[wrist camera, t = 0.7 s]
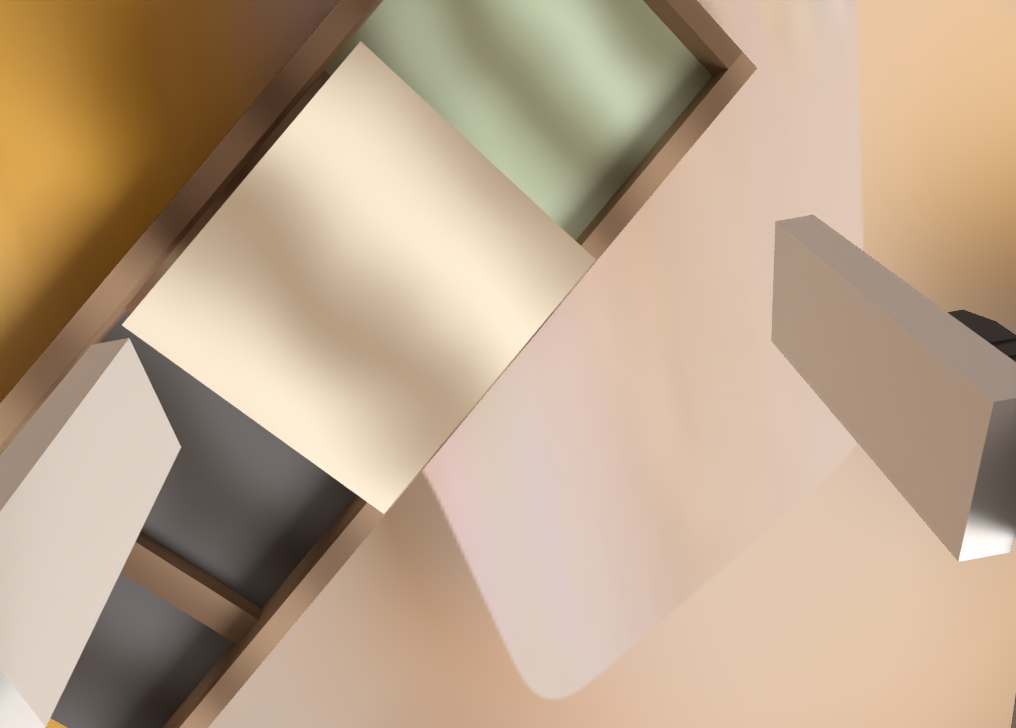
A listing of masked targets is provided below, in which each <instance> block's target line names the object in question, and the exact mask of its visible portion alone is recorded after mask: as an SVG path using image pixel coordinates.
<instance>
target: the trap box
mask: <svg viewBox="0 0 1016 728" xmlns="http://www.w3.org/2000/svg"><path fill="white" fill-rule="evenodd" d="M360 41H361V42H362V43H363V44H364V45H365V46H366V47H368V48H369V49H370V50H371V51H372V52H373V53H374V54H375V55H376V56H377V57H378V58H379V59H380V60H382V61H383V62H384V63H385V64H386V65H387V66H388V67H389V68H390V69H391V70H392V71H393V72H394V73H396V74H397V75H398V76H399V77H400V78H401V79H402V80H403V81H404V82H405V83H406V84H407V85H408V86H410V87H411V88H412V89H413V90H414V91H415V92H416V93H417V94H418V95H419V96H420V97H421V98H422V99H423V100H425V101H426V102H427V103H428V104H429V105H430V106H431V107H432V108H433V109H434V110H435V111H436V112H437V113H439V114H440V115H441V116H442V117H443V118H444V119H445V120H446V121H447V122H448V123H449V124H450V125H451V126H453V127H454V128H455V129H456V130H457V131H458V132H459V133H460V134H461V135H462V136H463V137H464V138H465V139H467V140H468V141H469V142H470V143H471V144H472V145H473V146H474V147H475V148H476V149H477V150H478V151H479V152H480V153H482V154H483V155H484V156H485V157H486V158H487V159H488V160H489V161H490V162H491V163H492V164H493V165H494V166H496V167H497V168H498V169H499V170H500V171H501V172H502V173H503V174H504V175H505V176H506V177H507V178H508V179H510V180H511V181H512V182H513V183H514V184H515V185H516V186H517V187H518V188H519V189H520V190H521V191H522V192H524V193H525V194H526V195H527V196H528V197H529V198H530V199H531V200H532V201H533V202H534V203H535V204H536V205H538V206H539V207H540V208H541V209H542V210H543V211H544V212H545V213H546V214H547V215H548V216H549V217H550V218H551V219H553V220H554V221H555V222H556V223H557V224H558V225H559V226H560V227H561V228H562V229H563V230H564V231H565V232H567V233H568V234H569V235H570V236H571V237H572V238H573V239H574V240H575V241H576V242H577V243H578V244H579V245H581V246H582V247H583V248H584V249H585V250H586V251H587V252H588V253H589V254H590V255H591V256H592V257H593V258H595V259H596V260H595V261H594V263H595V262H596V261H597V260H598V259H599V257H600V256H601V255H602V254H603V253H604V251H605V250H606V249H607V248H608V247H609V245H610V244H611V243H612V242H613V241H614V239H615V238H616V237H617V236H618V235H619V233H620V232H621V231H622V230H623V229H624V227H625V226H626V225H627V224H628V223H629V221H630V220H631V219H632V218H633V217H634V215H635V214H636V213H637V212H638V211H639V209H640V208H641V207H642V206H643V205H644V203H645V202H646V201H647V200H648V199H649V197H650V196H651V195H652V194H653V193H654V191H655V190H656V189H657V188H658V187H659V185H660V184H661V183H662V182H663V181H664V179H665V178H666V177H667V176H668V175H669V173H670V172H671V171H672V170H673V169H674V167H675V166H676V165H677V164H678V163H679V161H680V160H681V159H682V158H683V157H684V155H685V154H686V153H687V152H688V151H689V149H690V148H691V147H692V146H693V145H694V143H695V142H696V141H697V140H698V139H699V137H700V136H701V135H702V134H703V133H704V131H705V130H706V129H707V128H708V127H709V125H710V124H711V123H712V122H713V121H714V119H715V118H716V117H717V116H718V115H719V113H720V112H721V111H722V110H723V109H724V107H725V106H726V105H727V104H728V103H729V101H730V100H731V99H732V98H733V97H734V95H735V94H736V93H737V92H738V91H739V89H740V88H741V87H742V86H743V85H744V83H745V82H746V81H747V80H748V79H749V77H750V76H751V75H752V74H753V73H754V71H755V70H756V69H757V67H756V66H755V65H754V64H753V63H752V62H751V61H750V60H749V59H748V57H747V56H746V55H745V54H744V53H743V52H742V51H741V50H740V48H739V47H738V46H737V45H736V44H735V43H734V42H733V41H732V39H731V38H730V37H729V36H728V35H727V34H726V33H725V32H724V30H723V29H722V28H721V27H720V26H719V25H718V24H717V23H716V22H715V20H714V19H713V18H712V17H711V16H710V15H709V14H708V13H707V11H706V10H705V9H704V8H703V7H702V6H701V5H700V4H699V2H698V1H697V0H340V1H339V2H338V3H337V4H336V5H335V7H334V8H333V9H332V10H331V11H330V13H329V14H328V15H327V16H326V17H325V19H324V20H323V21H322V22H321V23H320V24H319V26H318V27H317V28H316V29H315V30H314V32H313V33H312V34H311V35H310V36H309V38H308V39H307V40H306V41H305V42H304V43H303V45H302V46H301V47H300V48H299V49H298V51H297V52H296V53H295V54H294V55H293V57H292V58H291V59H290V60H289V61H288V62H287V64H286V65H285V66H284V67H283V68H282V70H281V71H280V72H279V73H278V74H277V76H276V77H275V78H274V79H273V80H272V81H271V83H270V84H269V85H268V86H267V87H266V89H265V90H264V91H263V92H262V93H261V94H260V96H259V97H258V98H257V99H256V100H255V102H254V103H253V104H252V105H251V106H250V108H249V109H248V110H247V111H246V112H245V113H244V115H243V116H242V117H241V118H240V119H239V121H238V122H237V123H236V124H235V125H234V127H233V128H232V129H231V130H230V131H229V132H228V134H227V135H226V136H225V137H224V138H223V140H222V141H221V142H220V143H219V144H218V146H217V147H216V148H215V149H214V150H213V151H212V153H211V154H210V155H209V156H208V157H207V159H206V160H205V161H204V162H203V163H202V165H201V166H200V167H199V168H198V169H197V170H196V172H195V173H194V174H193V175H192V176H191V178H190V179H189V180H188V181H187V182H186V184H185V185H184V186H183V187H182V188H181V189H180V191H179V192H178V193H177V194H176V195H175V197H174V198H173V199H172V200H171V201H170V203H169V204H168V205H167V206H166V207H165V208H164V210H163V211H162V212H161V213H160V214H159V216H158V217H157V218H156V219H155V220H154V221H153V223H152V224H151V225H150V226H149V227H148V229H147V230H146V231H145V232H144V233H143V235H142V236H141V237H140V238H139V239H138V240H137V242H136V243H135V244H134V245H133V246H132V248H131V249H130V250H129V251H128V252H127V254H126V255H125V256H124V257H123V258H122V259H121V261H120V262H119V263H118V264H117V265H116V267H115V268H114V269H113V270H112V271H111V273H110V274H109V275H108V276H107V277H106V278H105V280H104V281H103V282H102V283H101V284H100V286H99V287H98V288H97V289H96V290H95V292H94V293H93V294H92V295H91V296H90V297H89V299H88V300H87V301H86V302H85V303H84V305H83V306H82V307H81V308H80V309H79V311H78V312H77V313H76V314H75V315H74V316H73V318H72V319H71V320H70V321H69V322H68V324H67V325H66V326H65V327H64V328H63V330H62V331H61V332H60V333H59V334H58V335H57V337H56V338H55V339H54V340H53V341H52V343H51V344H50V345H49V346H48V347H47V348H46V350H45V351H44V352H43V353H42V354H41V356H40V357H39V358H38V359H37V360H36V362H35V363H34V364H33V365H32V366H31V367H30V369H29V370H28V371H27V372H26V373H25V375H24V376H23V377H22V378H21V379H20V381H19V382H18V383H17V384H16V385H15V386H14V388H13V389H12V390H11V391H10V392H9V394H8V395H7V396H6V397H5V398H4V400H3V401H2V402H1V403H0V455H1V454H2V453H3V452H4V450H5V449H6V448H7V447H8V445H9V444H10V443H11V442H12V441H13V439H14V438H15V437H16V436H17V435H18V433H19V432H20V431H21V430H22V428H23V427H24V426H25V425H26V424H27V422H28V421H29V420H30V419H31V418H32V416H33V415H34V414H35V413H36V411H37V410H38V409H39V408H40V407H41V405H42V404H43V403H44V402H45V401H46V399H47V398H48V397H49V396H50V394H51V393H52V392H53V391H54V390H55V388H56V387H57V386H58V385H59V384H60V382H61V381H62V380H63V379H64V377H65V376H66V375H67V374H68V373H69V371H70V370H71V369H72V368H73V367H74V365H75V364H76V363H77V362H78V360H79V359H80V358H81V357H82V356H83V354H84V353H85V352H86V351H87V350H88V348H89V347H90V346H91V345H93V344H98V343H104V342H109V341H115V340H121V339H126V338H130V341H131V343H132V345H133V347H134V349H135V351H136V353H137V355H138V357H139V360H140V362H141V364H142V366H143V368H144V370H145V372H146V374H147V376H148V378H149V381H150V383H151V385H152V387H153V389H154V391H155V393H156V395H157V397H158V399H159V402H160V404H161V406H162V408H163V410H164V412H165V414H166V416H167V418H168V421H169V423H170V425H171V427H172V429H173V431H174V433H175V435H176V437H177V439H178V442H179V444H180V446H181V449H180V451H179V453H178V455H177V457H176V459H175V461H174V463H173V465H172V467H171V469H170V471H169V473H168V475H167V477H166V480H165V482H164V484H163V486H162V488H161V490H160V492H159V494H158V496H157V498H156V500H155V502H154V504H153V506H152V509H151V511H150V513H149V515H148V517H147V519H146V521H145V523H144V525H143V527H142V529H141V531H140V533H139V535H138V537H137V540H136V542H135V544H134V546H133V548H132V550H131V552H130V554H129V556H128V558H127V560H126V562H125V564H124V566H123V569H122V571H121V573H120V575H119V577H118V579H117V581H116V583H115V585H114V587H113V589H112V591H111V593H110V595H109V598H108V600H107V602H106V604H105V606H104V608H103V610H102V612H101V614H100V616H99V618H98V620H97V622H96V624H95V626H94V629H93V631H92V633H91V635H90V637H89V639H88V641H87V643H86V645H85V647H84V649H83V651H82V653H81V655H80V658H79V660H78V662H77V664H76V666H75V668H74V670H73V672H72V674H71V676H70V678H69V680H68V682H67V684H66V686H65V689H64V691H63V693H62V695H61V697H60V699H59V701H58V703H57V705H56V707H55V709H54V711H53V713H52V715H51V719H53V720H55V721H57V722H59V723H61V724H63V725H64V726H66V727H68V728H208V727H209V726H210V724H211V723H212V722H213V721H214V720H215V718H216V717H217V716H218V715H219V714H220V712H221V711H222V710H223V709H224V708H225V706H226V705H227V704H228V703H229V702H230V700H231V699H232V698H233V697H234V696H235V694H236V693H237V692H238V691H239V690H240V688H241V687H242V686H243V685H244V684H245V682H246V681H247V680H248V679H249V678H250V676H251V675H252V674H253V673H254V672H255V670H256V669H257V668H258V667H259V665H260V664H261V663H262V662H263V660H265V658H266V657H267V656H268V655H269V654H270V652H271V651H272V650H273V649H274V647H275V646H276V645H277V644H278V643H279V642H280V640H281V639H282V638H283V637H284V636H285V634H286V633H287V632H288V631H289V629H290V628H291V627H292V626H293V625H294V623H295V622H296V621H297V620H298V619H299V618H300V616H301V615H302V614H303V613H304V612H305V610H306V609H307V608H308V607H309V605H310V604H311V603H312V602H313V601H314V600H315V598H316V597H317V596H318V595H319V594H320V592H321V591H322V590H323V589H324V588H325V586H326V585H327V584H328V583H329V581H330V580H331V579H332V578H333V577H334V575H335V574H336V573H337V572H338V571H339V570H340V568H341V567H342V566H343V565H344V564H345V562H346V561H347V560H348V559H349V558H350V556H351V555H352V554H353V553H354V552H355V550H356V549H357V548H358V547H359V546H360V544H361V543H362V542H363V541H364V540H365V538H366V537H367V536H368V535H369V533H370V532H371V531H372V530H373V529H374V528H375V526H376V525H377V524H378V523H379V522H380V520H381V519H382V518H383V517H384V516H385V514H386V513H387V512H388V511H389V510H390V508H391V507H392V506H393V505H394V503H395V502H396V501H397V500H398V499H399V497H400V496H401V495H402V494H403V493H404V491H405V490H406V489H407V488H408V486H410V484H411V483H412V482H413V481H414V480H415V478H416V477H417V476H418V475H419V474H420V472H421V471H422V470H423V469H424V468H425V466H426V465H427V464H428V463H429V462H430V460H431V459H432V458H433V457H434V456H435V454H436V453H437V452H438V451H439V450H440V448H441V447H442V446H443V445H444V444H445V442H446V441H447V440H448V439H449V438H450V436H451V435H452V434H453V433H454V432H455V430H456V429H457V428H458V427H459V426H460V424H461V423H462V422H463V421H464V420H465V418H466V417H467V416H468V415H469V414H470V412H471V411H472V410H473V409H474V408H475V406H476V405H477V404H478V403H479V402H480V400H481V399H482V398H483V397H484V396H485V394H486V393H487V392H488V391H489V390H490V388H491V387H492V386H493V385H494V384H495V382H496V381H497V380H498V379H499V378H500V376H501V375H502V374H503V373H504V372H505V370H506V369H507V368H508V367H509V366H510V364H511V363H512V362H513V361H514V360H515V358H516V357H517V356H518V355H519V354H520V352H521V351H522V350H523V349H524V348H525V346H526V345H527V344H528V343H529V342H530V340H531V339H532V338H533V337H534V335H535V334H536V333H537V332H538V331H539V329H540V328H541V327H542V326H543V325H544V323H545V322H546V321H547V320H548V319H549V317H550V316H551V315H552V314H553V313H554V311H555V310H556V309H557V308H558V307H559V305H560V304H561V303H562V302H563V301H564V299H565V298H566V297H567V296H568V295H569V293H570V292H571V291H572V290H573V289H574V287H575V286H576V285H577V284H578V283H579V281H580V280H581V279H582V278H583V277H584V275H585V274H586V273H587V272H588V271H589V269H590V268H591V267H592V266H593V265H594V263H593V264H592V265H591V266H590V267H589V269H588V270H587V271H586V272H585V273H584V275H583V276H582V277H581V278H580V279H579V281H578V282H577V283H576V284H575V285H574V287H573V288H572V289H571V290H570V291H569V293H568V294H567V295H566V296H565V297H564V299H563V300H562V301H561V302H560V303H559V305H558V306H557V307H556V308H555V309H554V311H553V312H552V313H551V314H550V315H549V317H548V318H547V319H546V320H545V321H544V323H543V324H542V325H541V326H540V327H539V329H538V330H537V331H536V332H535V333H534V335H533V336H532V337H531V338H530V339H529V341H528V342H527V343H526V344H525V345H524V347H523V348H522V349H521V350H520V351H519V353H518V354H517V355H516V356H515V357H514V359H513V360H512V361H511V362H510V363H509V365H508V366H507V367H506V368H505V369H504V371H503V372H502V373H501V374H500V375H499V377H498V378H497V379H496V380H495V381H494V383H493V384H492V385H491V386H490V387H489V389H488V390H487V391H486V392H485V393H484V395H483V396H482V397H481V398H480V399H479V401H478V402H477V403H476V404H475V405H474V407H473V408H472V409H471V410H470V411H469V413H468V414H467V415H466V416H465V417H464V419H463V420H462V421H461V422H460V423H459V425H458V426H457V427H456V428H455V429H454V431H453V432H452V433H451V434H450V435H449V437H448V438H447V439H446V440H445V441H444V443H443V444H442V445H441V446H440V447H439V449H438V450H437V451H436V452H435V453H434V455H433V456H432V457H431V458H430V459H429V461H428V462H427V463H426V464H425V465H424V467H423V468H422V469H421V470H420V471H419V473H418V474H417V475H416V476H415V477H414V479H413V480H412V481H411V482H410V483H409V485H408V486H407V487H406V488H405V489H404V491H403V492H402V493H401V494H400V495H399V497H398V498H397V499H396V500H395V501H394V503H393V504H392V505H391V506H390V507H389V509H388V510H387V511H386V512H385V513H384V514H383V513H382V512H380V511H379V510H378V509H376V508H375V507H373V506H372V505H371V504H369V503H368V502H366V501H365V500H364V499H362V498H361V497H359V496H358V495H357V494H355V493H354V492H353V491H351V490H350V489H348V488H347V487H346V486H344V485H343V484H341V483H340V482H339V481H337V480H336V479H334V478H333V477H332V476H330V475H329V474H328V473H326V472H325V471H323V470H322V469H321V468H319V467H318V466H316V465H315V464H314V463H312V462H311V461H310V460H308V459H307V458H305V457H304V456H303V455H301V454H300V453H298V452H297V451H296V450H294V449H293V448H291V447H290V446H289V445H287V444H286V443H285V442H283V441H282V440H280V439H279V438H278V437H276V436H275V435H273V434H272V433H271V432H269V431H268V430H267V429H265V428H264V427H262V426H261V425H260V424H258V423H257V422H255V421H254V420H253V419H251V418H250V417H248V416H247V415H246V414H244V413H243V412H242V411H240V410H239V409H237V408H236V407H235V406H233V405H232V404H230V403H229V402H228V401H226V400H225V399H223V398H222V397H221V396H219V395H218V394H217V393H215V392H214V391H212V390H211V389H210V388H208V387H207V386H205V385H204V384H203V383H201V382H200V381H199V380H197V379H196V378H194V377H193V376H192V375H190V374H189V373H187V372H186V371H185V370H183V369H182V368H180V367H179V366H178V365H176V364H175V363H174V362H172V361H171V360H169V359H168V358H167V357H165V356H164V355H162V354H161V353H160V352H158V351H157V350H156V349H154V348H153V347H151V346H150V345H149V344H147V343H146V342H144V341H143V340H142V339H140V338H139V337H137V336H136V335H135V334H133V333H132V332H131V331H129V330H128V329H126V328H125V327H124V326H122V324H123V323H124V322H125V321H126V319H127V318H128V317H129V316H130V315H131V313H132V312H133V311H134V310H135V309H136V307H137V306H138V305H139V304H140V303H141V302H142V300H143V299H144V298H145V297H146V296H147V294H148V293H149V292H150V291H151V290H152V288H153V287H154V286H155V285H156V284H157V282H158V281H159V280H160V279H161V278H162V277H163V275H164V274H165V273H166V272H167V271H168V269H169V268H170V267H171V266H172V265H173V263H174V262H175V261H176V260H177V259H178V258H179V256H180V255H181V254H182V253H183V252H184V250H185V249H186V248H187V247H188V246H189V244H190V243H191V242H192V241H193V240H194V239H195V237H196V236H197V235H198V234H199V233H200V231H201V230H202V229H203V228H204V227H205V225H206V224H207V223H208V222H209V221H210V219H211V218H212V217H213V216H214V215H215V214H216V212H217V211H218V210H219V209H220V208H221V206H222V205H223V204H224V203H225V202H226V200H227V199H228V198H229V197H230V196H231V195H232V193H233V192H234V191H235V190H236V189H237V187H238V186H239V185H240V184H241V183H242V181H243V180H244V179H245V178H246V177H247V176H248V174H249V173H250V172H251V171H252V170H253V168H254V167H255V166H256V165H257V164H258V162H259V161H260V160H261V159H262V158H263V157H264V155H265V154H266V153H267V152H268V151H269V149H270V148H271V147H272V146H273V145H274V143H275V142H276V141H277V140H278V139H279V137H280V136H281V135H282V134H283V133H284V132H285V130H286V129H287V128H288V127H289V126H290V124H291V123H292V122H293V121H294V120H295V118H296V117H297V116H298V115H299V114H300V113H301V111H302V110H303V109H304V108H305V107H306V105H307V104H308V103H309V102H310V101H311V99H312V98H313V97H314V96H315V95H316V94H317V92H318V91H319V90H320V89H321V88H322V86H323V85H324V84H325V83H326V82H327V80H328V79H329V78H330V77H331V76H332V75H333V73H334V72H335V71H336V70H337V69H338V67H339V66H340V65H341V64H342V63H343V61H344V60H345V59H346V58H347V57H348V55H349V54H350V53H351V52H352V51H353V50H354V48H355V47H356V46H357V45H358V44H359V42H360Z"/></svg>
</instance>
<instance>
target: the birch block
mask: <svg viewBox="0 0 1016 728" xmlns="http://www.w3.org/2000/svg"><path fill="white" fill-rule="evenodd" d="M595 260H596V259H595V258H593V257H592V256H591V255H590V254H589V253H588V252H587V251H586V250H585V249H584V248H583V247H582V246H581V245H579V244H578V243H577V242H576V241H575V240H574V239H573V238H572V237H571V236H570V235H569V234H568V233H567V232H565V231H564V230H563V229H562V228H561V227H560V226H559V225H558V224H557V223H556V222H555V221H554V220H553V219H551V218H550V217H549V216H548V215H547V214H546V213H545V212H544V211H543V210H542V209H541V208H540V207H539V206H538V205H536V204H535V203H534V202H533V201H532V200H531V199H530V198H529V197H528V196H527V195H526V194H525V193H524V192H522V191H521V190H520V189H519V188H518V187H517V186H516V185H515V184H514V183H513V182H512V181H511V180H510V179H508V178H507V177H506V176H505V175H504V174H503V173H502V172H501V171H500V170H499V169H498V168H497V167H496V166H494V165H493V164H492V163H491V162H490V161H489V160H488V159H487V158H486V157H485V156H484V155H483V154H482V153H480V152H479V151H478V150H477V149H476V148H475V147H474V146H473V145H472V144H471V143H470V142H469V141H468V140H467V139H465V138H464V137H463V136H462V135H461V134H460V133H459V132H458V131H457V130H456V129H455V128H454V127H453V126H451V125H450V124H449V123H448V122H447V121H446V120H445V119H444V118H443V117H442V116H441V115H440V114H439V113H437V112H436V111H435V110H434V109H433V108H432V107H431V106H430V105H429V104H428V103H427V102H426V101H425V100H423V99H422V98H421V97H420V96H419V95H418V94H417V93H416V92H415V91H414V90H413V89H412V88H411V87H410V86H408V85H407V84H406V83H405V82H404V81H403V80H402V79H401V78H400V77H399V76H398V75H397V74H396V73H394V72H393V71H392V70H391V69H390V68H389V67H388V66H387V65H386V64H385V63H384V62H383V61H382V60H380V59H379V58H378V57H377V56H376V55H375V54H374V53H373V52H372V51H371V50H370V49H369V48H368V47H366V46H365V45H364V44H363V43H362V42H361V41H360V42H359V44H358V45H357V46H356V47H355V48H354V50H353V51H352V52H351V53H350V54H349V55H348V57H347V58H346V59H345V60H344V61H343V63H342V64H341V65H340V66H339V67H338V69H337V70H336V71H335V72H334V73H333V75H332V76H331V77H330V78H329V79H328V80H327V82H326V83H325V84H324V85H323V86H322V88H321V89H320V90H319V91H318V92H317V94H316V95H315V96H314V97H313V98H312V99H311V101H310V102H309V103H308V104H307V105H306V107H305V108H304V109H303V110H302V111H301V113H300V114H299V115H298V116H297V117H296V118H295V120H294V121H293V122H292V123H291V124H290V126H289V127H288V128H287V129H286V130H285V132H284V133H283V134H282V135H281V136H280V137H279V139H278V140H277V141H276V142H275V143H274V145H273V146H272V147H271V148H270V149H269V151H268V152H267V153H266V154H265V155H264V157H263V158H262V159H261V160H260V161H259V162H258V164H257V165H256V166H255V167H254V168H253V170H252V171H251V172H250V173H249V174H248V176H247V177H246V178H245V179H244V180H243V181H242V183H241V184H240V185H239V186H238V187H237V189H236V190H235V191H234V192H233V193H232V195H231V196H230V197H229V198H228V199H227V200H226V202H225V203H224V204H223V205H222V206H221V208H220V209H219V210H218V211H217V212H216V214H215V215H214V216H213V217H212V218H211V219H210V221H209V222H208V223H207V224H206V225H205V227H204V228H203V229H202V230H201V231H200V233H199V234H198V235H197V236H196V237H195V239H194V240H193V241H192V242H191V243H190V244H189V246H188V247H187V248H186V249H185V250H184V252H183V253H182V254H181V255H180V256H179V258H178V259H177V260H176V261H175V262H174V263H173V265H172V266H171V267H170V268H169V269H168V271H167V272H166V273H165V274H164V275H163V277H162V278H161V279H160V280H159V281H158V282H157V284H156V285H155V286H154V287H153V288H152V290H151V291H150V292H149V293H148V294H147V296H146V297H145V298H144V299H143V300H142V302H141V303H140V304H139V305H138V306H137V307H136V309H135V310H134V311H133V312H132V313H131V315H130V316H129V317H128V318H127V319H126V321H125V322H124V323H123V324H122V326H124V327H125V328H126V329H128V330H129V331H131V332H132V333H133V334H135V335H136V336H137V337H139V338H140V339H142V340H143V341H144V342H146V343H147V344H149V345H150V346H151V347H153V348H154V349H156V350H157V351H158V352H160V353H161V354H162V355H164V356H165V357H167V358H168V359H169V360H171V361H172V362H174V363H175V364H176V365H178V366H179V367H180V368H182V369H183V370H185V371H186V372H187V373H189V374H190V375H192V376H193V377H194V378H196V379H197V380H199V381H200V382H201V383H203V384H204V385H205V386H207V387H208V388H210V389H211V390H212V391H214V392H215V393H217V394H218V395H219V396H221V397H222V398H223V399H225V400H226V401H228V402H229V403H230V404H232V405H233V406H235V407H236V408H237V409H239V410H240V411H242V412H243V413H244V414H246V415H247V416H248V417H250V418H251V419H253V420H254V421H255V422H257V423H258V424H260V425H261V426H262V427H264V428H265V429H267V430H268V431H269V432H271V433H272V434H273V435H275V436H276V437H278V438H279V439H280V440H282V441H283V442H285V443H286V444H287V445H289V446H290V447H291V448H293V449H294V450H296V451H297V452H298V453H300V454H301V455H303V456H304V457H305V458H307V459H308V460H310V461H311V462H312V463H314V464H315V465H316V466H318V467H319V468H321V469H322V470H323V471H325V472H326V473H328V474H329V475H330V476H332V477H333V478H334V479H336V480H337V481H339V482H340V483H341V484H343V485H344V486H346V487H347V488H348V489H350V490H351V491H353V492H354V493H355V494H357V495H358V496H359V497H361V498H362V499H364V500H365V501H366V502H368V503H369V504H371V505H372V506H373V507H375V508H376V509H378V510H379V511H380V512H382V513H383V514H384V513H385V512H386V511H387V510H388V509H389V507H390V506H391V505H392V504H393V503H394V501H395V500H396V499H397V498H398V497H399V495H400V494H401V493H402V492H403V491H404V489H405V488H406V487H407V486H408V485H409V483H410V482H411V481H412V480H413V479H414V477H415V476H416V475H417V474H418V473H419V471H420V470H421V469H422V468H423V467H424V465H425V464H426V463H427V462H428V461H429V459H430V458H431V457H432V456H433V455H434V453H435V452H436V451H437V450H438V449H439V447H440V446H441V445H442V444H443V443H444V441H445V440H446V439H447V438H448V437H449V435H450V434H451V433H452V432H453V431H454V429H455V428H456V427H457V426H458V425H459V423H460V422H461V421H462V420H463V419H464V417H465V416H466V415H467V414H468V413H469V411H470V410H471V409H472V408H473V407H474V405H475V404H476V403H477V402H478V401H479V399H480V398H481V397H482V396H483V395H484V393H485V392H486V391H487V390H488V389H489V387H490V386H491V385H492V384H493V383H494V381H495V380H496V379H497V378H498V377H499V375H500V374H501V373H502V372H503V371H504V369H505V368H506V367H507V366H508V365H509V363H510V362H511V361H512V360H513V359H514V357H515V356H516V355H517V354H518V353H519V351H520V350H521V349H522V348H523V347H524V345H525V344H526V343H527V342H528V341H529V339H530V338H531V337H532V336H533V335H534V333H535V332H536V331H537V330H538V329H539V327H540V326H541V325H542V324H543V323H544V321H545V320H546V319H547V318H548V317H549V315H550V314H551V313H552V312H553V311H554V309H555V308H556V307H557V306H558V305H559V303H560V302H561V301H562V300H563V299H564V297H565V296H566V295H567V294H568V293H569V291H570V290H571V289H572V288H573V287H574V285H575V284H576V283H577V282H578V281H579V279H580V278H581V277H582V276H583V275H584V273H585V272H586V271H587V270H588V269H589V267H590V266H591V265H592V264H593V263H594V261H595Z"/></svg>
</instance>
